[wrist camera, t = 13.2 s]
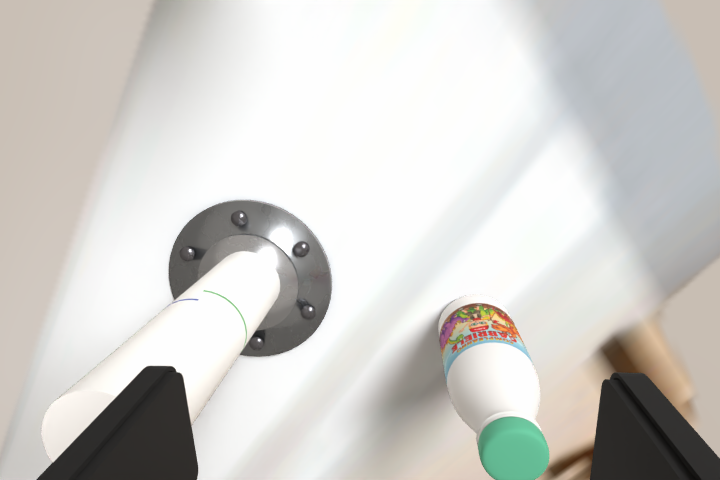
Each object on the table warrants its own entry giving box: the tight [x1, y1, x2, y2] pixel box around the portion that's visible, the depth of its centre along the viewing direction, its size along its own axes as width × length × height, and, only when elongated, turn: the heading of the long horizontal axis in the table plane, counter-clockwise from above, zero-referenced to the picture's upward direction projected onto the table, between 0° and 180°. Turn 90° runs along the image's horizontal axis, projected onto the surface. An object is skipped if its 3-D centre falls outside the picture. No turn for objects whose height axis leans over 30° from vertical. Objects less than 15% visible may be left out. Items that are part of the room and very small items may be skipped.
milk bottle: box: [438, 294, 549, 480], centre depth 41 cm, size 8×8×20 cm
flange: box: [169, 200, 332, 356], centre depth 51 cm, size 18×18×1 cm
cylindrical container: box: [41, 251, 280, 463], centre depth 38 cm, size 7×7×25 cm
